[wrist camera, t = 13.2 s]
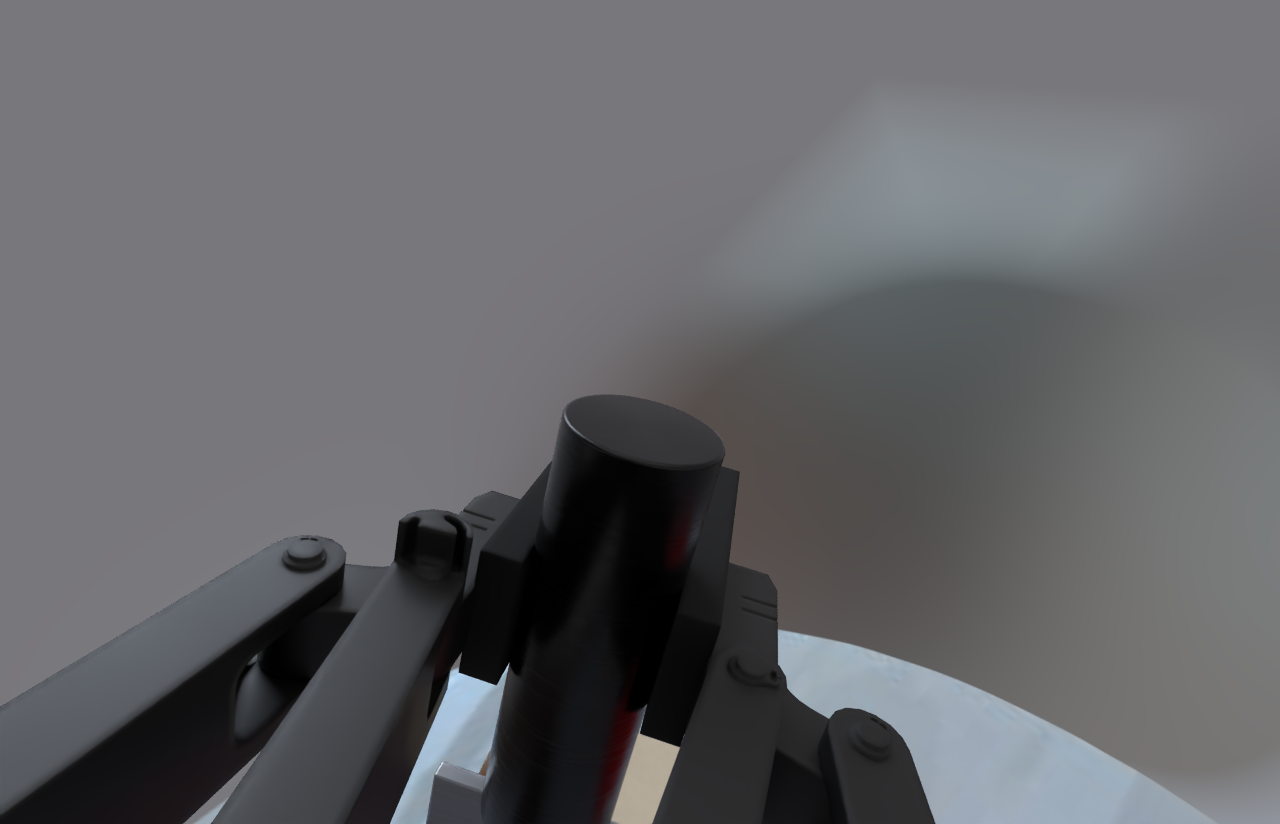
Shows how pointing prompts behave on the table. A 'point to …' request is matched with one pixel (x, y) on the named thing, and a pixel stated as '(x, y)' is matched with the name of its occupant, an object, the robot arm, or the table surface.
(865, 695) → the table surface
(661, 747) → the cake
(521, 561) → the robot arm
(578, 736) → the knife
